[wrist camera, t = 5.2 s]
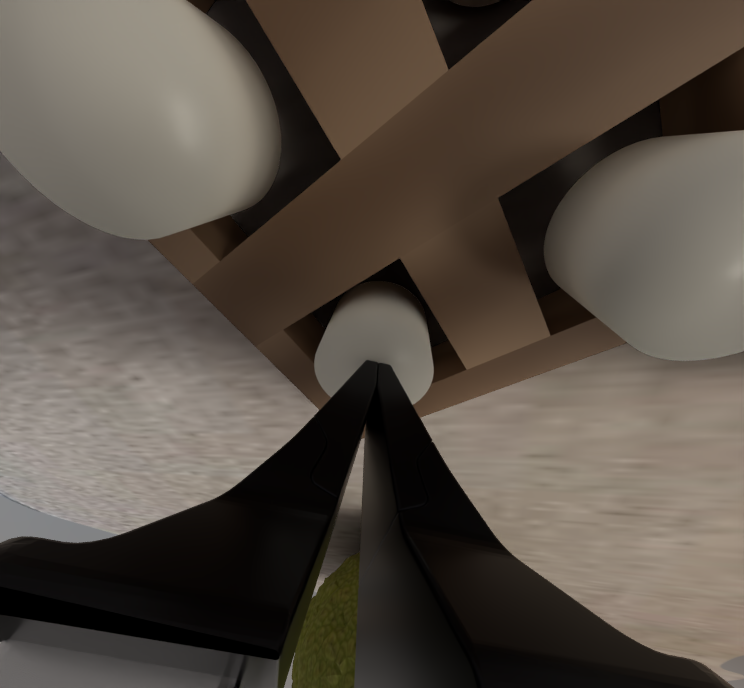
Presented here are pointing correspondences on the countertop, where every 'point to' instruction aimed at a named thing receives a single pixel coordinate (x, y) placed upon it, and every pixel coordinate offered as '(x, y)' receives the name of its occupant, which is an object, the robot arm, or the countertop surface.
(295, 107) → the countertop surface
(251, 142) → the button
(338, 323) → the button
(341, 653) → the fruit
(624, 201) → the pale grey egg
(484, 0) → the white egg
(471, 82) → the board
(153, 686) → the robot arm
